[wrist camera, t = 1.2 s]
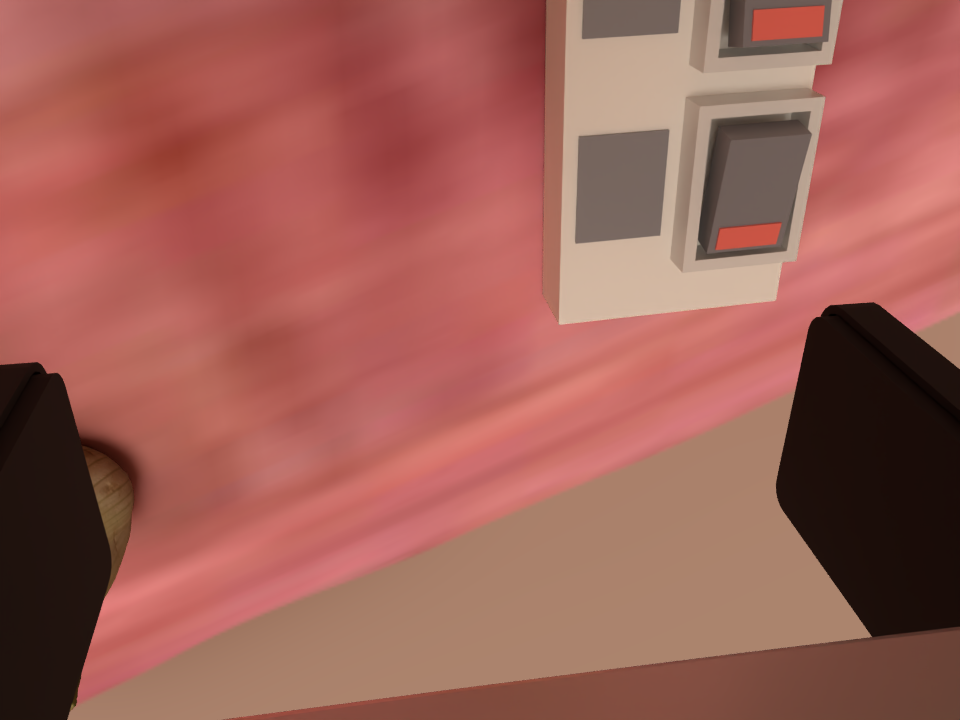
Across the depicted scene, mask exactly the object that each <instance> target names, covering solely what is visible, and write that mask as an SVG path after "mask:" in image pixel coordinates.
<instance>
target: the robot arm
mask: <svg viewBox="0 0 960 720" xmlns="http://www.w3.org/2000/svg"><path fill="white" fill-rule="evenodd" d="M776 493H777V498H778V501H779V504H780V506H781V508H782V510H783V511H784V513H785V514H786V515H787V517H788V518H789V520H790V521H791V523H792V524H793V525H794V527H795V528H796V530H797V531H798V532H799V534H800V535H801V537H802V538H803V540H804V541H805V542H806V544H807V545H808V547H809V548H810V549H811V550H812V552H813V554H814V555H815V556H816V558H817V559H818V561H819V562H820V564H821V565H822V566H823V568H824V569H825V571H826V572H827V574H828V575H829V576H830V578H831V579H832V581H833V582H834V583H835V585H836V586H837V588H838V589H839V590H840V592H841V593H842V595H843V596H844V598H845V599H846V600H847V602H848V603H849V605H850V606H851V607H852V609H853V610H854V612H855V613H856V615H857V616H858V617H859V619H860V620H861V622H862V623H863V625H864V626H865V627H866V629H867V630H868V632H869V633H870V634H871V636H872V637H870V638H861V639H853V640H846V641H837V642H829V643H820V644H812V645H803V646H795V647H787V648H778V649H771V650H762V651H754V652H745V653H737V654H729V655H721V656H713V657H705V658H697V659H689V660H682V661H673V662H666V663H657V664H649V665H641V666H633V667H625V668H617V669H609V670H601V671H593V672H585V673H577V674H570V675H561V676H554V677H546V678H538V679H530V680H522V681H514V682H507V683H499V684H491V685H483V686H476V687H468V688H459V689H451V690H443V691H436V692H428V693H421V694H413V695H406V696H399V697H390V698H383V699H375V700H368V701H360V702H352V703H346V704H337V705H330V706H323V707H315V708H307V709H299V710H292V711H284V712H277V713H269V714H262V715H254V716H247V717H239V718H232V719H224V720H960V369H959V368H957V367H956V366H955V365H954V364H952V363H951V362H950V361H949V360H947V359H946V358H945V357H943V356H942V355H941V354H940V353H939V352H937V351H936V350H935V349H934V348H932V347H931V346H930V345H929V344H927V343H926V342H925V341H924V340H922V339H921V338H920V337H918V336H917V335H916V334H915V333H914V332H912V331H911V330H910V329H909V328H907V327H906V326H905V325H903V324H902V323H901V322H900V321H898V320H897V319H896V318H895V317H893V316H892V315H891V314H890V313H888V312H887V311H886V310H885V309H883V308H882V307H881V306H880V305H878V304H876V303H874V302H873V303H857V304H843V305H830V306H829V307H827V308H826V309H825V310H824V311H823V313H822V314H821V317H816V318H815V319H813V321H812V322H811V324H810V326H809V329H808V334H807V339H806V343H805V348H804V353H803V357H802V362H801V367H800V372H799V376H798V381H797V386H796V391H795V395H794V400H793V405H792V410H791V414H790V419H789V424H788V428H787V433H786V438H785V443H784V447H783V452H782V457H781V462H780V466H779V471H778V476H777V481H776ZM111 568H112V558H111V550H110V545H109V542H108V538H107V534H106V531H105V527H104V524H103V520H102V516H101V513H100V509H99V506H98V502H97V498H96V495H95V491H94V488H93V484H92V480H91V477H90V473H89V470H88V466H87V462H86V459H85V455H84V452H83V448H82V444H81V441H80V437H79V434H78V430H77V426H76V423H75V419H74V416H73V412H72V408H71V405H70V401H69V398H68V394H67V391H66V387H65V384H64V381H63V379H62V377H61V376H60V375H59V374H58V373H51V374H47V373H46V371H45V369H44V368H43V366H42V365H41V364H39V363H38V362H35V363H21V364H7V365H0V720H67V719H68V715H69V712H70V709H71V705H72V702H73V699H74V696H75V692H76V689H77V686H78V682H79V679H80V676H81V672H82V669H83V666H84V663H85V659H86V656H87V653H88V649H89V646H90V643H91V640H92V636H93V633H94V630H95V626H96V623H97V620H98V617H99V613H100V610H101V607H102V603H103V600H104V597H105V593H106V590H107V587H108V584H109V580H110V576H111Z"/></svg>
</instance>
